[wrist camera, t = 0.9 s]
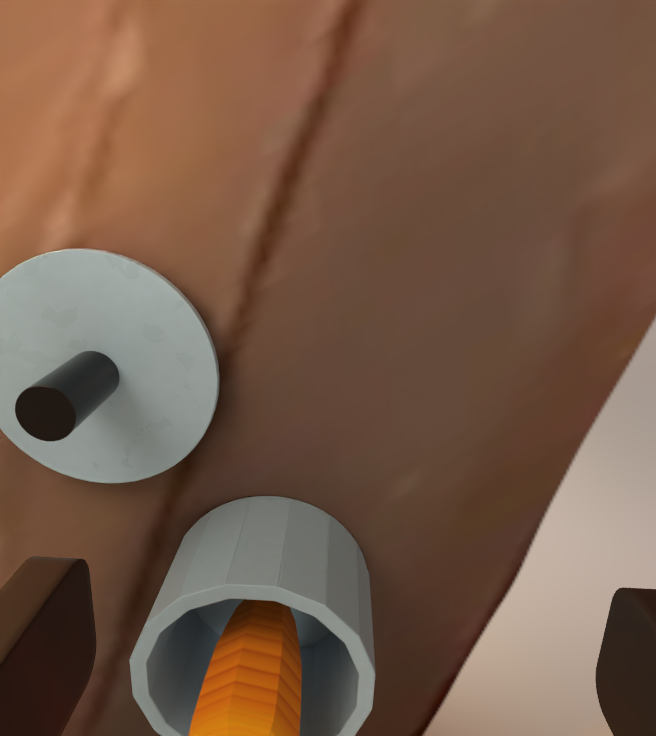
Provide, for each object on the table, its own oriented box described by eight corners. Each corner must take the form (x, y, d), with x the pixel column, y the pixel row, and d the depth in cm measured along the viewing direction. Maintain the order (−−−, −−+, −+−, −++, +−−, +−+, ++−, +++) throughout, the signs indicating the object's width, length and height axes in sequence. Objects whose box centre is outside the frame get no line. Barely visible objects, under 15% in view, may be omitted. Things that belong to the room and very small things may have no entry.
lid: (-36, 240, 28) (-136, 257, 22) (219, 252, 28) (186, 272, 22) (2, 467, 32) (-74, 532, 26) (224, 479, 32) (197, 546, 26)
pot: (170, 490, 32) (121, 578, 25) (374, 500, 32) (383, 592, 25) (179, 650, 36) (139, 765, 29) (361, 660, 36) (366, 778, 29)
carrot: (221, 553, 33) (127, 842, 19) (305, 545, 32) (275, 832, 18) (237, 621, 34) (161, 935, 20) (317, 614, 34) (298, 928, 20)
